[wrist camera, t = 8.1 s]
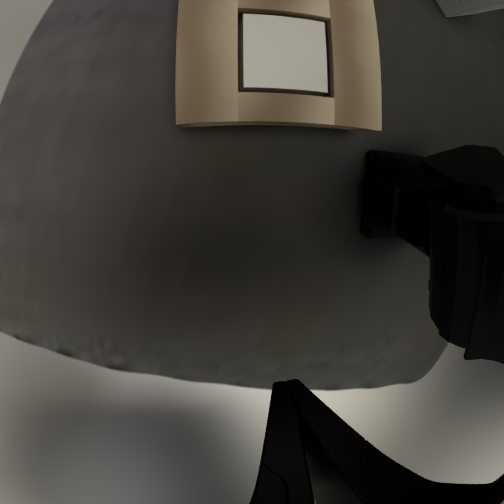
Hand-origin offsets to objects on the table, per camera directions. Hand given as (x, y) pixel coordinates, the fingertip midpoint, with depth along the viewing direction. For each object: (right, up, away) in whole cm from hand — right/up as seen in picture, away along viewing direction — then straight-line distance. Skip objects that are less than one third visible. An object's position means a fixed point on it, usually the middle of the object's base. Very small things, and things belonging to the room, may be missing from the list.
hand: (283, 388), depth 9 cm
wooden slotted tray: (0, +23, +4) cm, 23 cm away
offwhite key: (0, +16, +5) cm, 16 cm away
